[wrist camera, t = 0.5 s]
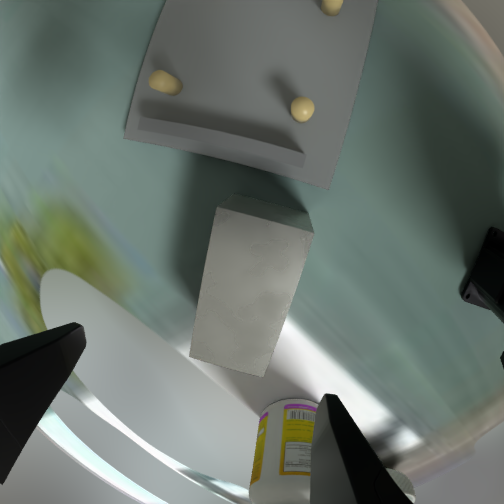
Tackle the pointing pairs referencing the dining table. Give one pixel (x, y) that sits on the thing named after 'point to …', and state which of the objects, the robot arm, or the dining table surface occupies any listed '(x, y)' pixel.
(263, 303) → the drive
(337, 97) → the tray
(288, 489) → the supplement bottle
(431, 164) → the dining table surface
